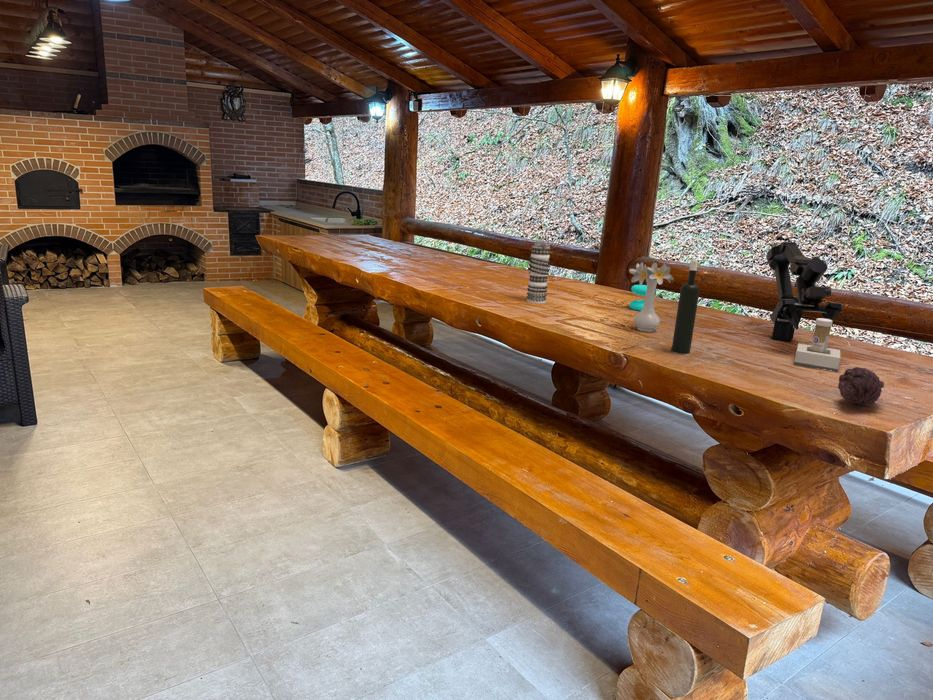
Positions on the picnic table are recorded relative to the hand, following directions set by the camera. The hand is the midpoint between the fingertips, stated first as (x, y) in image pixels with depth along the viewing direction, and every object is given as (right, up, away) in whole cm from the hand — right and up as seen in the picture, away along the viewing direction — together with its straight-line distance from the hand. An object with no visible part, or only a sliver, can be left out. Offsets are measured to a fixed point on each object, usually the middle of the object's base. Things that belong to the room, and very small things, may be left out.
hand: (812, 330), depth 209 cm
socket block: (-2, -11, -5) cm, 12 cm away
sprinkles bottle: (-2, -10, -5) cm, 11 cm away
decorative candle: (-82, +14, +70) cm, 109 cm away
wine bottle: (-43, -7, +1) cm, 43 cm away
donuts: (-38, +11, +67) cm, 77 cm away
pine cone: (-12, -21, -43) cm, 49 cm away
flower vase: (-47, +1, +29) cm, 55 cm away
